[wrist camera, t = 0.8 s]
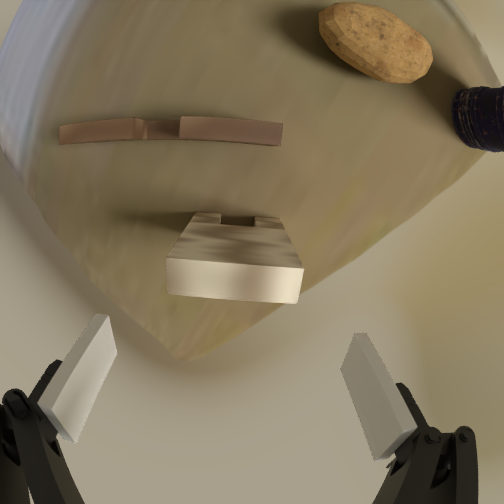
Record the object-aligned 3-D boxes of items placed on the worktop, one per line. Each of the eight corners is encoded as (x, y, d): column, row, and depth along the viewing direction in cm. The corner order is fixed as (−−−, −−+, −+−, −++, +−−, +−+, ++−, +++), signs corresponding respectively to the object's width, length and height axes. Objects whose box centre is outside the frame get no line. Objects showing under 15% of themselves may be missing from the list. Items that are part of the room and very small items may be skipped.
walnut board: (95, 127, 27) (60, 125, 20) (272, 129, 29) (283, 123, 21) (94, 142, 28) (58, 144, 21) (271, 146, 29) (280, 145, 22)
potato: (314, 4, 22) (331, -25, 15) (409, 44, 24) (442, 30, 16) (301, 63, 26) (318, 40, 18) (402, 102, 27) (439, 96, 20)
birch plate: (195, 235, 33) (167, 293, 20) (196, 211, 32) (166, 257, 19) (276, 242, 34) (297, 303, 21) (279, 218, 33) (304, 268, 20)
